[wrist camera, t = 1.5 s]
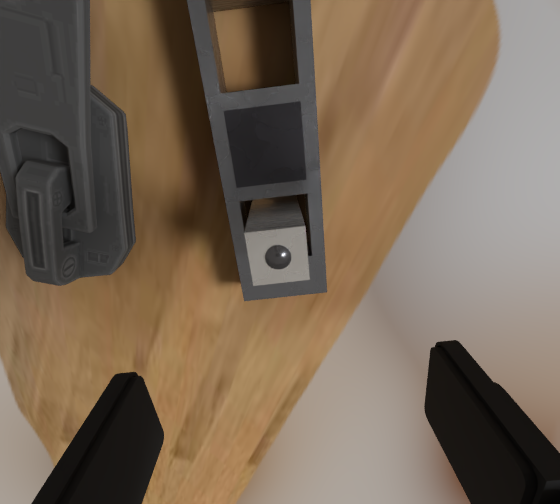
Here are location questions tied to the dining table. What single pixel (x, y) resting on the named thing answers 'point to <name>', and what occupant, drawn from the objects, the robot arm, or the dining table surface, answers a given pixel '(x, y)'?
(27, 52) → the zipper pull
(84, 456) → the robot arm
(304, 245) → the grey tall square block
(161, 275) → the dining table surface
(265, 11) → the dining table surface
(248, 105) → the rail
